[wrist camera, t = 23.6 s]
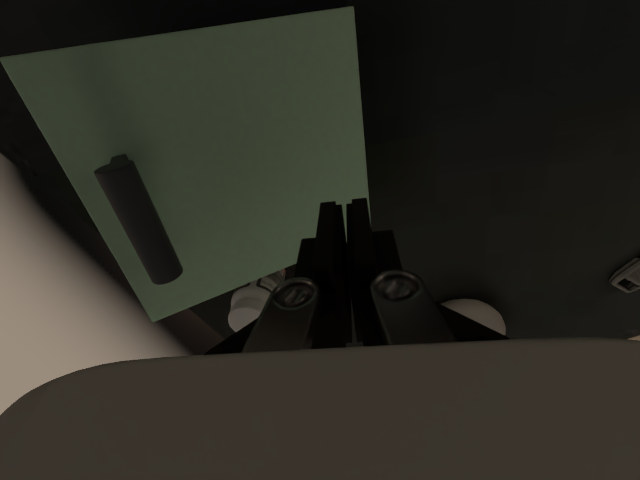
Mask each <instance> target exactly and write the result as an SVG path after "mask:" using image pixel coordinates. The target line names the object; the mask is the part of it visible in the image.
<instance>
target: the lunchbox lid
mask: <svg viewBox="0 0 640 480" xmlns="http://www.w3.org/2000/svg"><path fill="white" fill-rule="evenodd" d="M0 62H1V63H2V65H3V67H4V68H5V70H6V72H7V74H8V75H9V77H10V79H11V81H12V82H13V84H14V86H15V87H16V89H17V91H18V93H19V94H20V96H21V98H22V99H23V101H24V103H25V105H26V106H27V108H28V110H29V111H30V113H31V115H32V117H33V118H34V120H35V122H36V123H37V125H38V127H39V129H40V130H41V132H42V134H43V135H44V137H45V139H46V141H47V142H48V144H49V146H50V147H51V149H52V151H53V153H54V154H55V156H56V158H57V159H58V161H59V163H60V165H61V166H62V168H63V170H64V171H65V173H66V175H67V177H68V178H69V180H70V182H71V184H72V185H73V187H74V189H75V190H76V192H77V194H78V196H79V197H80V199H81V201H82V202H83V204H84V206H85V208H86V209H87V211H88V213H89V214H90V216H91V218H92V220H93V221H94V223H95V225H96V226H97V228H98V230H99V232H100V233H101V235H102V237H103V238H104V240H105V242H106V244H107V245H108V247H109V249H110V250H111V252H112V254H113V256H114V257H115V259H116V261H117V262H118V264H119V266H120V268H121V269H122V271H123V273H124V274H125V276H126V278H127V280H128V281H129V283H130V285H131V287H132V288H133V290H134V292H135V293H136V295H137V297H138V299H139V300H140V302H141V304H142V305H143V307H144V309H145V311H146V312H147V314H148V316H149V317H150V319H151V320H152V322H155V321H157V320H160V319H162V318H164V317H167V316H169V315H172V314H174V313H176V312H179V311H181V310H184V309H186V308H189V307H191V306H194V305H196V304H198V303H201V302H203V301H206V300H208V299H211V298H213V297H215V296H218V295H220V294H223V293H225V292H228V291H230V290H232V289H235V288H237V287H240V286H242V285H245V284H247V283H249V282H252V281H254V280H257V279H259V278H262V277H264V276H267V275H269V274H271V273H274V272H276V271H279V270H281V269H284V268H286V267H288V266H291V265H293V264H296V263H297V258H298V253H299V248H300V244H301V240H302V239H305V238H315V237H316V231H317V224H318V217H319V209H320V203H322V202H331V201H336V205H340V204H342V210H343V218H344V226H345V234H346V242H347V223H346V204H349V203H352V199H358V198H367V203H368V210H369V217H370V207H369V194H368V181H367V169H366V156H365V143H364V130H363V118H362V105H361V92H360V80H359V67H358V54H357V41H356V29H355V16H354V7H353V6H349V7H342V8H335V9H328V10H322V11H315V12H308V13H301V14H294V15H287V16H281V17H274V18H267V19H260V20H253V21H246V22H239V23H233V24H226V25H219V26H212V27H205V28H198V29H191V30H185V31H178V32H171V33H164V34H157V35H150V36H143V37H137V38H130V39H123V40H116V41H109V42H102V43H95V44H89V45H82V46H75V47H68V48H61V49H54V50H48V51H41V52H34V53H27V54H20V55H13V56H6V57H0ZM370 224H371V220H370Z"/></svg>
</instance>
